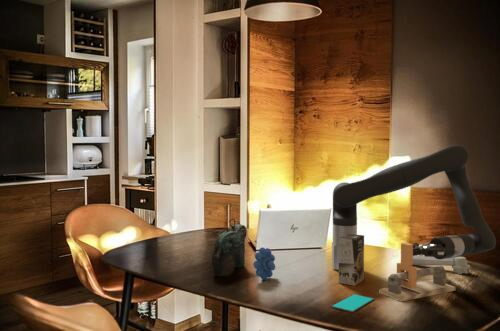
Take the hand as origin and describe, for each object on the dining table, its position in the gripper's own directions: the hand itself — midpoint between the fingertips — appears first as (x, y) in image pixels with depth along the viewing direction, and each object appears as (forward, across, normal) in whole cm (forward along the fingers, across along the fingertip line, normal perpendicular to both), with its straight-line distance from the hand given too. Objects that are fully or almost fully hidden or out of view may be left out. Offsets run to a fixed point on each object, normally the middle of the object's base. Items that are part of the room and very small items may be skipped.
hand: (409, 252), depth 163 cm
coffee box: (+8, -20, +14) cm, 25 cm away
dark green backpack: (+40, -52, +14) cm, 67 cm away
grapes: (+34, -34, +14) cm, 50 cm away
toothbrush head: (-32, -18, +14) cm, 39 cm away
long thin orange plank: (+1, 0, +11) cm, 11 cm away
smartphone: (+22, 0, +14) cm, 27 cm away
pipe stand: (-4, 0, +14) cm, 14 cm away
